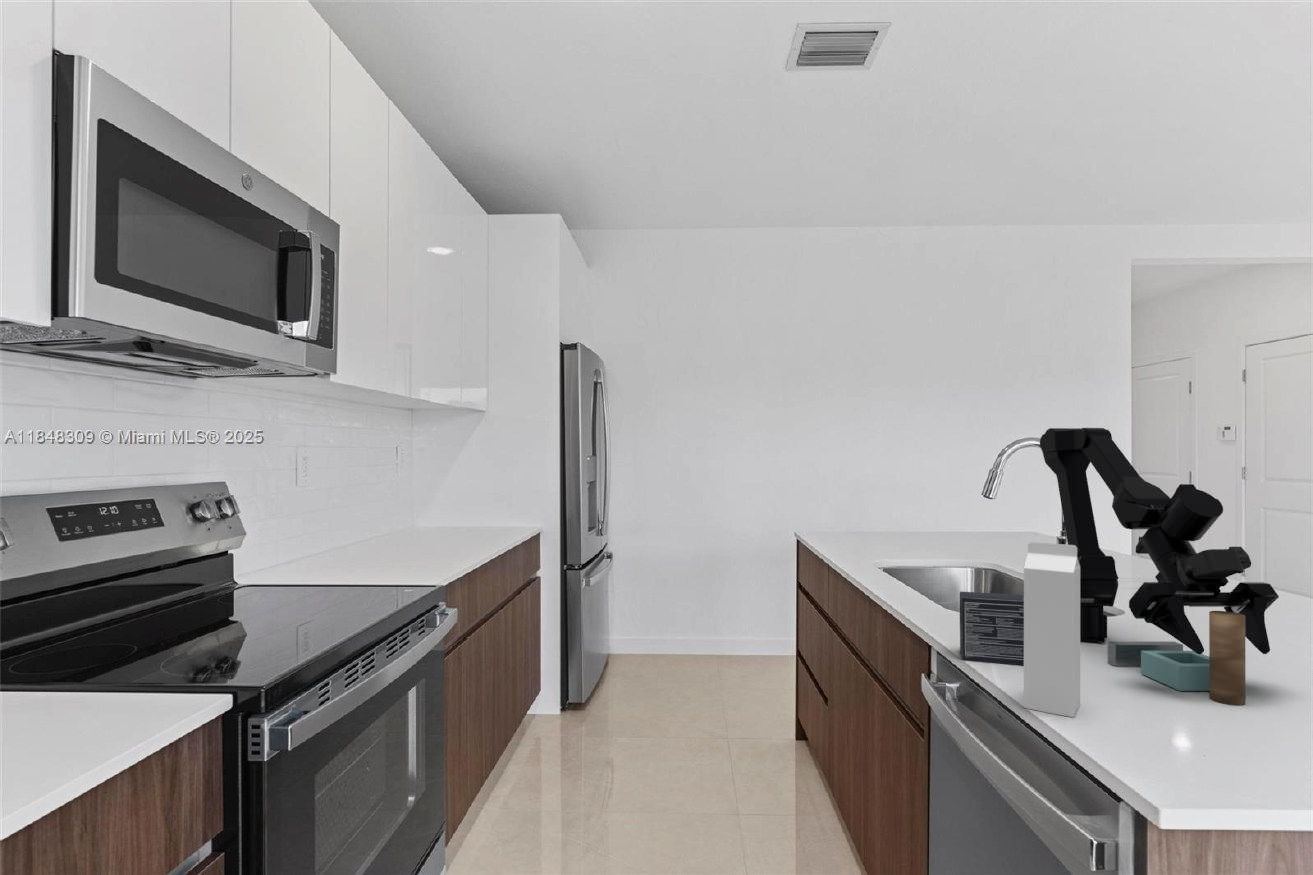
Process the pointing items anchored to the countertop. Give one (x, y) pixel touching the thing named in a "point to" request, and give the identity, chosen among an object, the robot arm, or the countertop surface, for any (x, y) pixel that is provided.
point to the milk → (1052, 629)
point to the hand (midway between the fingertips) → (1234, 652)
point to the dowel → (1227, 657)
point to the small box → (992, 627)
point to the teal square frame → (1177, 669)
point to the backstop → (1136, 651)
